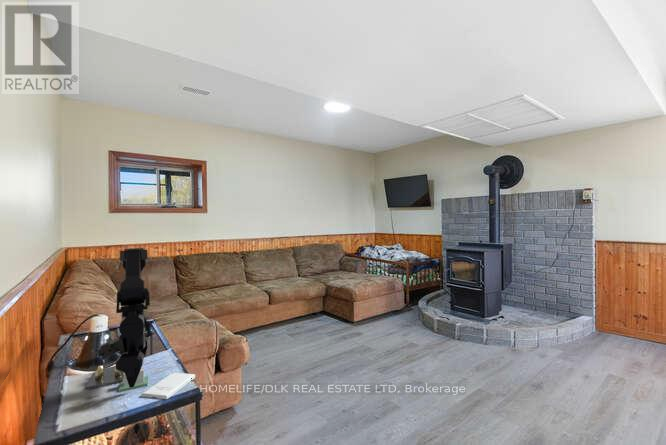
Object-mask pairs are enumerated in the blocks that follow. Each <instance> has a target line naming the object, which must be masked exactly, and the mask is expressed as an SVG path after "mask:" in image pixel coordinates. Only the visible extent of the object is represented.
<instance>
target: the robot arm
mask: <svg viewBox="0 0 666 445" xmlns="http://www.w3.org/2000/svg"><path fill="white" fill-rule="evenodd" d="M148 258H149V257H148V249H145V248H144V247H133V248H132V247H131V248H124V249H123V250H120V251H119V262H120V263H122V268H123V269H124V271H125V274H124V278H125V279H123V281H121V282H120V283H119V284H120V285H119V290H118V291H117V292H116V307H115V310H116V312H115V314H121V318H120V323H119V328H118V331H119V333H120V335H119V337H116V338H113V339H112V340H109V341H106V342H104V343H102V344H101V345H100V346H99V347H98V348H97V352H98V354H97V356H98V357H100V358H101V359H102V360H106V359H107V358H108V357H110V356H112V355H114V354H116V353H118V354H119V356H118V357H117V359H116V361H115V366H116V369H117V370H119V371H123V372H124V373H125V375H126V378H127V381H128V384H129V387H130V388H131V387H134V386H135V383H136V380H137V378H138V375H139V373H140V370H141V368H143V364H144V358H145V356H146V355H147V352H148V346H149V338H150V337H151V336H152V324H151V323H150V320H147V314H146V313H145V311H144V310H148V307H149V306H150V300H151V299H150V291H149V289H148V288H147V287H145V281H144V280H143V279H142V272H143V270H144V268H145V266H146V261H148Z"/></svg>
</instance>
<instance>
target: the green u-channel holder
mask: <svg viewBox="0 0 666 445" xmlns="http://www.w3.org/2000/svg"><path fill="white" fill-rule="evenodd" d="M148 383H149V376H145V367H141V370H140V373H139V375H138V378H137V380H136V383H135V386H134V387H131V388H130V387H129V384H128V381H127V378H126V375H125V373H124V380H123V382H121V383H120V386H119V389H118V392H119V393H123V392H126V391H131V390H136V389H140V388H145V387H148V385H149V384H148Z"/></svg>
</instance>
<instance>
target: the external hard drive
mask: <svg viewBox="0 0 666 445" xmlns="http://www.w3.org/2000/svg"><path fill="white" fill-rule="evenodd" d="M191 378H192V379H191ZM194 379H196V374H195V373H194V374H193V373H185V372H171V373H170V374H168V375H167V376H166V377H164V378H162V379H161V380H159V381H158V382H156V383H155V384H154V385H152V386H151V387H149V388H148V389H146V390H144V391H143V392H142V393H141V394H140V395H141V397H143V398H149V399H150V398H151V399H152V398H153V399H159V400H160V399H161V400H168V399H169V398H170V397H172V396H173V395H175V394H176V393H177V392H179V391H180V390H181V389H182V388H184V387H185V386H186V385H188V384H189V383H191V382H192V381H193V380H194ZM191 380H192V381H191ZM188 382H189V383H188ZM187 383H188V384H187Z"/></svg>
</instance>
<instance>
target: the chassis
mask: <svg viewBox="0 0 666 445" xmlns="http://www.w3.org/2000/svg"><path fill="white" fill-rule="evenodd" d="M123 379H124V372H123V371H119V370H117V369H116V365H114V366H109V367H108V366H107V367H104V365H103V364H102V365H98V366H97V369H96V370H95V371H94V373H93V375H92V377H91V378H90V380H89V381H88V382H87V385H86V386H85V391H89V390H93V389H97V388H103V387H108V386H113V385H112V384H114V385H117V383H119V384H121V382H124V380H123Z"/></svg>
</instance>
